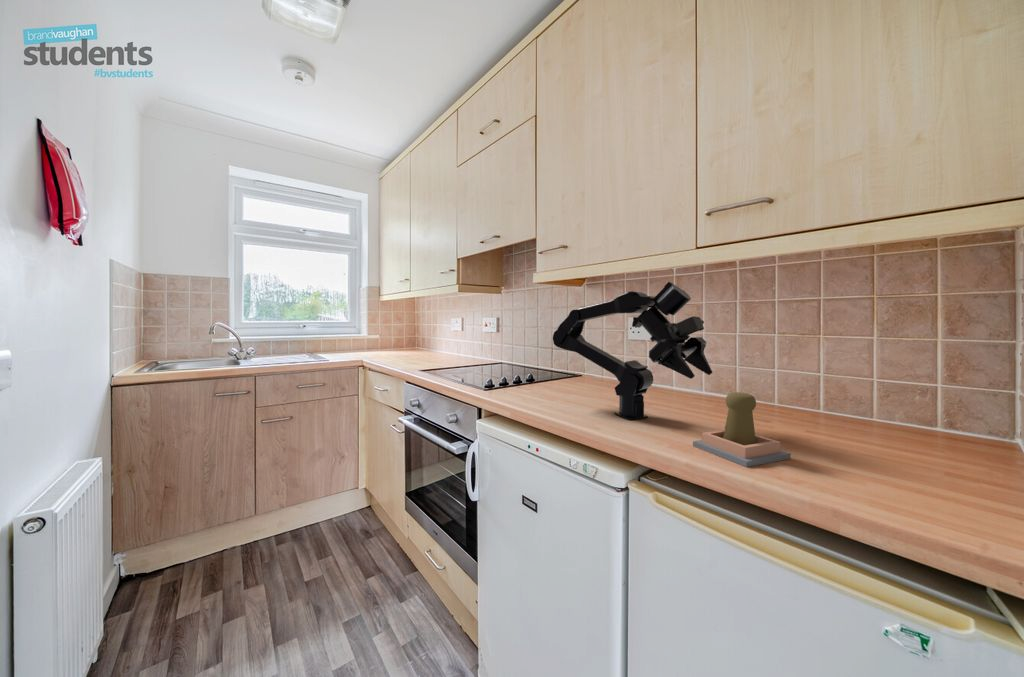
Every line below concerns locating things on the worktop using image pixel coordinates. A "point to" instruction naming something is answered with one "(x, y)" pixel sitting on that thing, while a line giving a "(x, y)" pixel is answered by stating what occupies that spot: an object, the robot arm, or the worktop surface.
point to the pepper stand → (742, 449)
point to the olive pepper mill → (740, 418)
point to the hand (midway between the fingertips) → (702, 375)
